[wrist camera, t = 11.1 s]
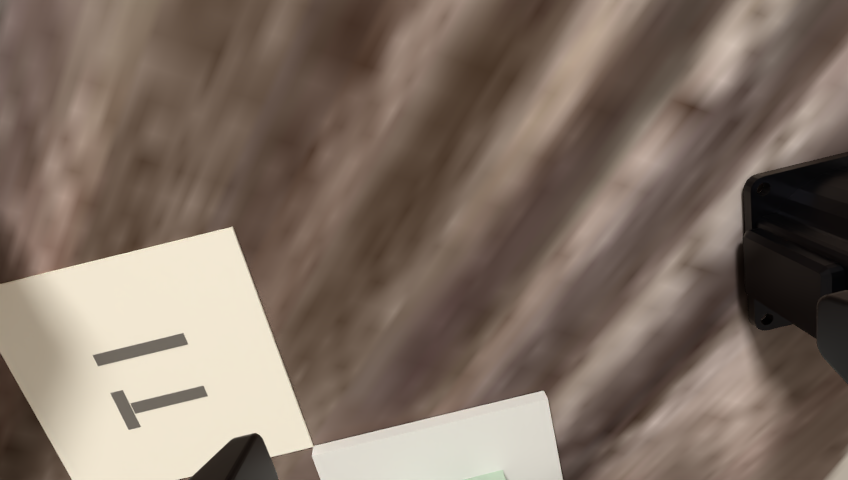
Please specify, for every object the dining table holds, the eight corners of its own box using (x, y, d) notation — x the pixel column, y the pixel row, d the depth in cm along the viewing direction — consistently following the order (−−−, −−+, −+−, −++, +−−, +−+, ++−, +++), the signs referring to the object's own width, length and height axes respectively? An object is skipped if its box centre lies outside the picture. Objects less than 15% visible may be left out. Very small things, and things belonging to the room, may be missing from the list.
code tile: (235, 224, 20) (231, 227, 20) (314, 440, 23) (313, 447, 23) (-26, 288, 20) (-34, 293, 20) (89, 495, 23) (84, 502, 23)
